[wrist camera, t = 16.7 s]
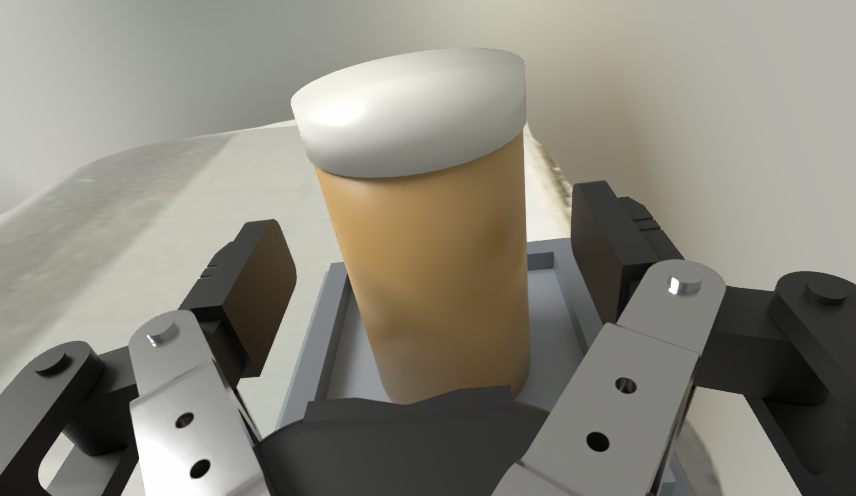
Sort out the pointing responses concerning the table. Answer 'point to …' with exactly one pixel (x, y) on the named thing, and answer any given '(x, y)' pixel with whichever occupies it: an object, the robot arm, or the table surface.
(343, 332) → the grey case
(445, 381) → the glass of beer
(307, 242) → the table surface
